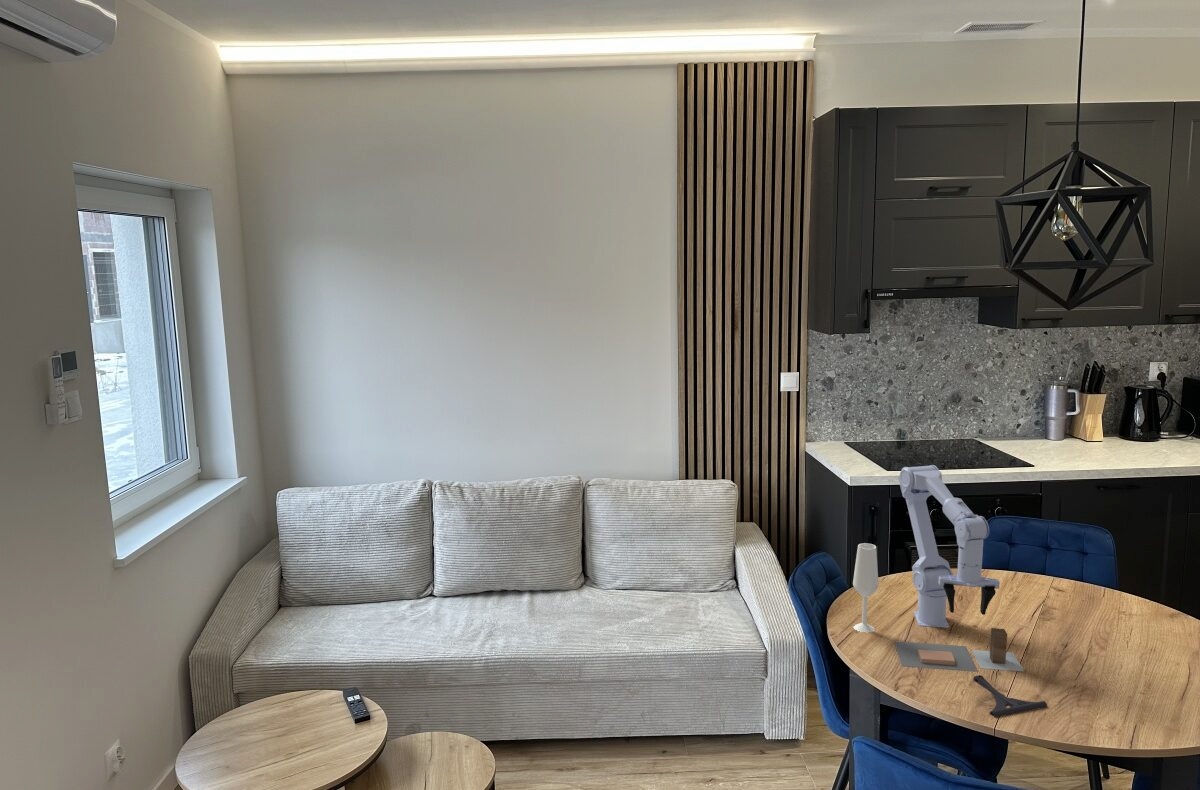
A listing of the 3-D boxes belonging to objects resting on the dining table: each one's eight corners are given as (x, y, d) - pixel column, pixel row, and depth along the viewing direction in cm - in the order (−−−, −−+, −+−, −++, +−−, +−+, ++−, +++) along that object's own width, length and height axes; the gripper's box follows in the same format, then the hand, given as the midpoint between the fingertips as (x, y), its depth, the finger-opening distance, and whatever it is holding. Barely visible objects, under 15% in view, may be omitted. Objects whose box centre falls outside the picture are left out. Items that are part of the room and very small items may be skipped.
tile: (918, 649, 221) (921, 658, 216) (951, 651, 220) (955, 661, 215) (917, 653, 221) (921, 663, 217) (950, 656, 220) (954, 665, 215)
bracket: (999, 679, 210) (1000, 668, 210) (1047, 709, 196) (1047, 698, 196) (950, 689, 206) (950, 678, 206) (994, 720, 192) (995, 709, 192)
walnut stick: (989, 657, 219) (991, 628, 218) (1002, 658, 218) (1004, 628, 217) (992, 663, 216) (994, 633, 215) (1005, 663, 215) (1007, 634, 214)
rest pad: (971, 651, 223) (971, 649, 223) (1012, 654, 221) (1013, 652, 221) (980, 669, 214) (980, 668, 214) (1023, 672, 212) (1024, 671, 212)
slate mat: (894, 642, 229) (894, 641, 229) (965, 647, 225) (965, 646, 225) (901, 667, 215) (901, 665, 215) (978, 673, 212) (978, 671, 212)
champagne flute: (872, 624, 240) (876, 542, 236) (879, 634, 234) (883, 550, 230) (848, 624, 240) (851, 542, 236) (854, 634, 234) (857, 550, 230)
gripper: (943, 566, 220) (940, 616, 222) (1003, 569, 217) (1000, 620, 220) (938, 557, 227) (935, 605, 229) (996, 560, 224) (993, 609, 226)
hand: (967, 612), depth 225 cm, fingers open, 7 cm apart
